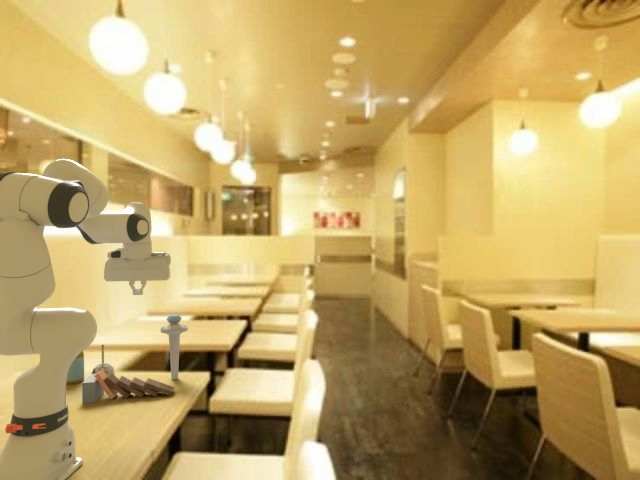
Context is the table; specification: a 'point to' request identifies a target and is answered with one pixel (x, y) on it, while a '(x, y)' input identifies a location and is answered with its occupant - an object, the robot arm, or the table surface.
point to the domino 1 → (105, 384)
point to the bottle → (76, 370)
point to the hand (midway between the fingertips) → (138, 294)
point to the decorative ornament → (103, 366)
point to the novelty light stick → (174, 341)
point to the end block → (91, 390)
